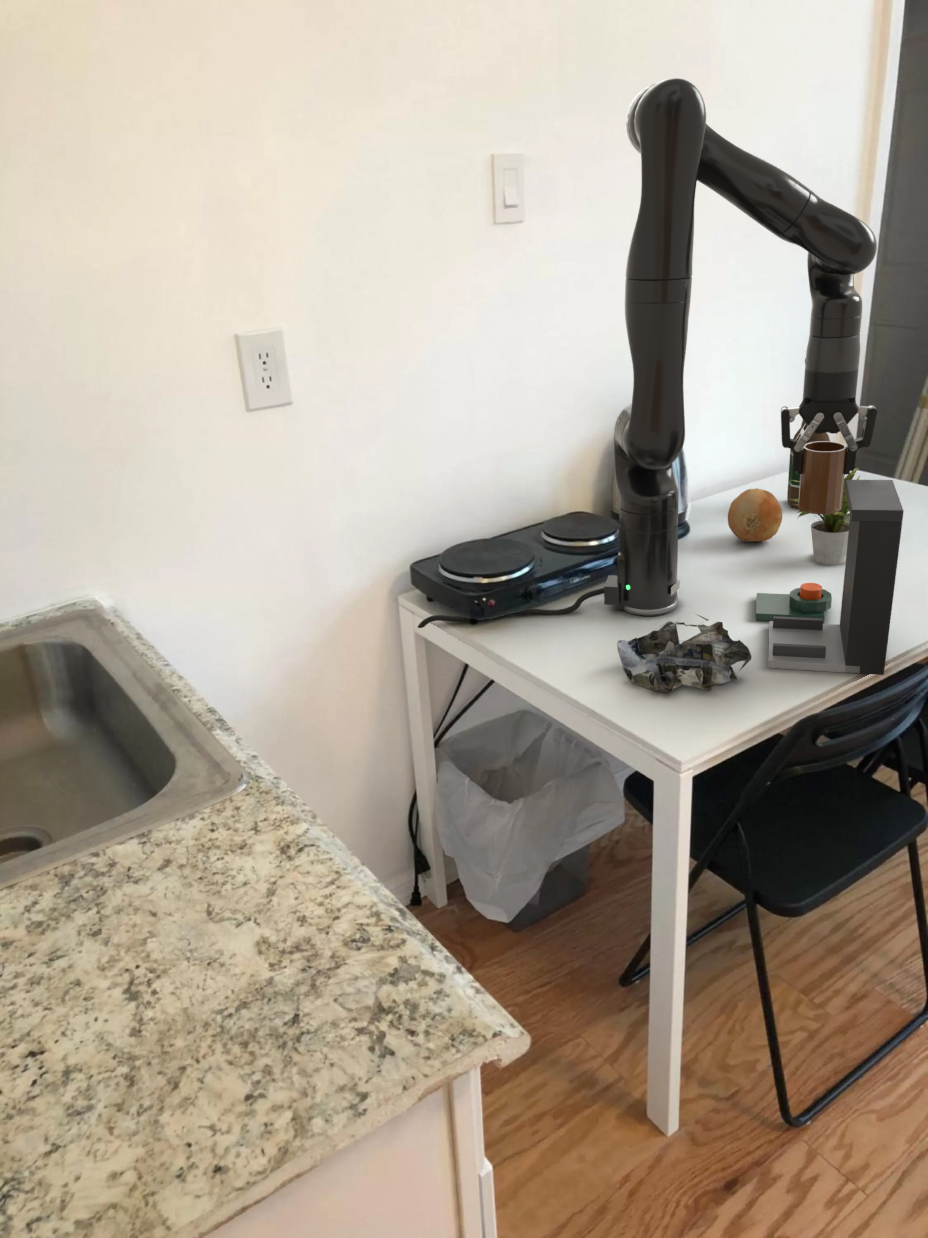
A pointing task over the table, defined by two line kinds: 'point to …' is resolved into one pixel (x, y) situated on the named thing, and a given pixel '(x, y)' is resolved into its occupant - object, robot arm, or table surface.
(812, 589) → the button
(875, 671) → the coffee machine
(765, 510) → the onion
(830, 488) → the mug
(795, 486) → the beer bottle
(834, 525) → the house plant
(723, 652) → the foil
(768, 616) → the block
